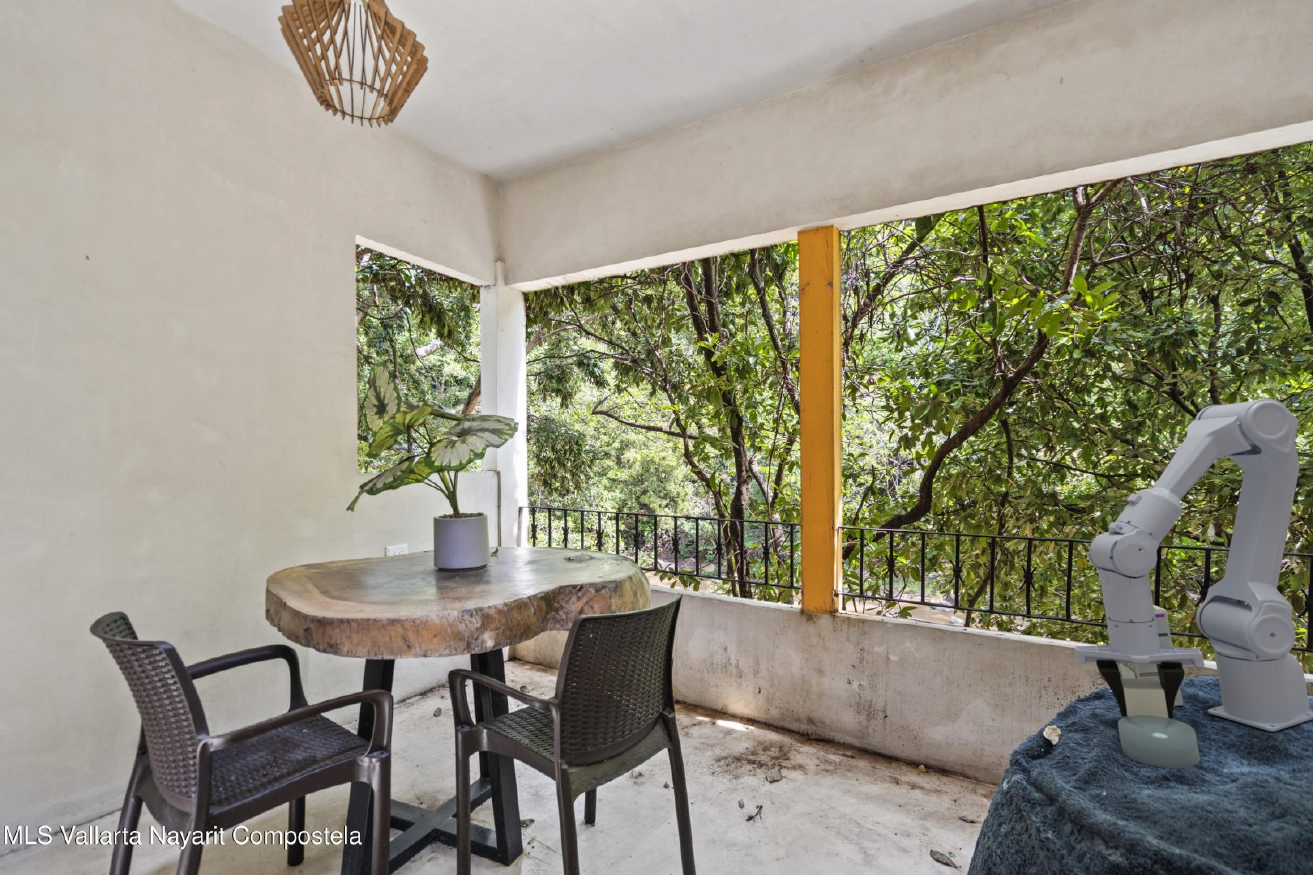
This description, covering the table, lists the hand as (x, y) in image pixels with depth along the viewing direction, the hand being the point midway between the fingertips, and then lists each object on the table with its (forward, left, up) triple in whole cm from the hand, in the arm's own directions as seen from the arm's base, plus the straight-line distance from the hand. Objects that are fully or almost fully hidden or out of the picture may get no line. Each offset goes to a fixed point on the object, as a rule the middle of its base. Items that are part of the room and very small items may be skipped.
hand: (1145, 715), depth 91 cm
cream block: (0, 0, -2) cm, 2 cm away
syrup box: (-9, -6, -2) cm, 11 cm away
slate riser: (+6, +6, -2) cm, 9 cm away
